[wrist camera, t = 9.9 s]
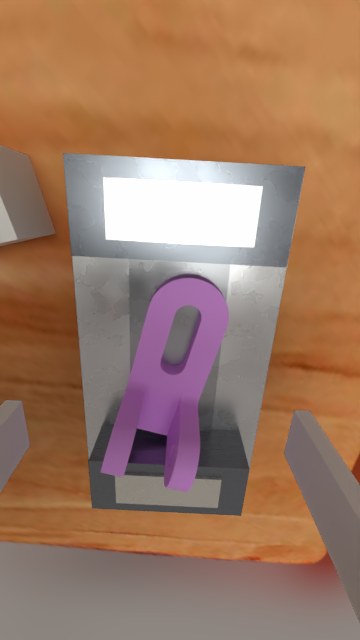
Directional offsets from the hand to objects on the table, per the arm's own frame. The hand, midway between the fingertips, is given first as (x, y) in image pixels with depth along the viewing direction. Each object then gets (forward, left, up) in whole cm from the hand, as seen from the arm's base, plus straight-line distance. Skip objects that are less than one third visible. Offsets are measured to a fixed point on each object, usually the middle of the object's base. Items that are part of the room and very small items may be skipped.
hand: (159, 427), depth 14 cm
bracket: (0, 0, -9) cm, 9 cm away
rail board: (0, 0, -10) cm, 10 cm away
